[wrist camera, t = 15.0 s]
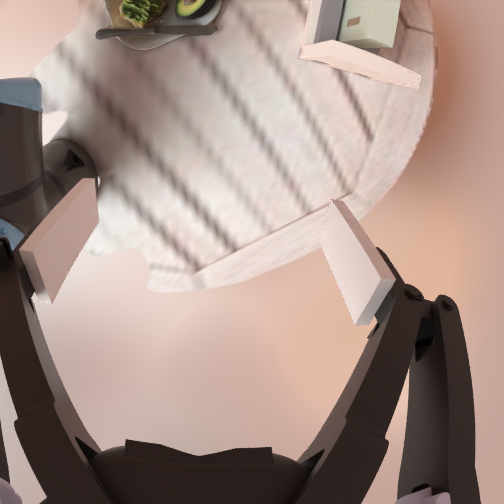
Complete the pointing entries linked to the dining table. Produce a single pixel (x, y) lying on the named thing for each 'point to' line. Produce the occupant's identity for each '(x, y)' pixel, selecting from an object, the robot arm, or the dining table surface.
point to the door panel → (368, 23)
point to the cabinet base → (347, 48)
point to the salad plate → (158, 20)
